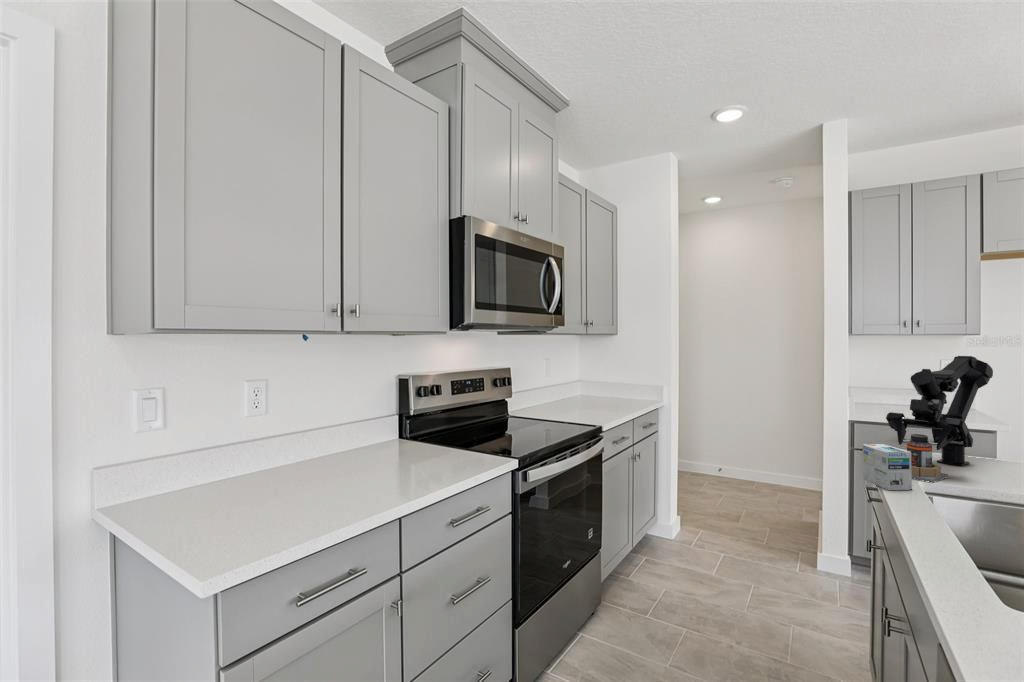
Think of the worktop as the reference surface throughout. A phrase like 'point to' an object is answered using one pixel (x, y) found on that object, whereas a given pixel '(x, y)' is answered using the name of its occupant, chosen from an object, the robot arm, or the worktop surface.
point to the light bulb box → (887, 466)
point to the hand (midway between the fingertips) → (918, 446)
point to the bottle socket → (928, 473)
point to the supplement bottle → (920, 451)
